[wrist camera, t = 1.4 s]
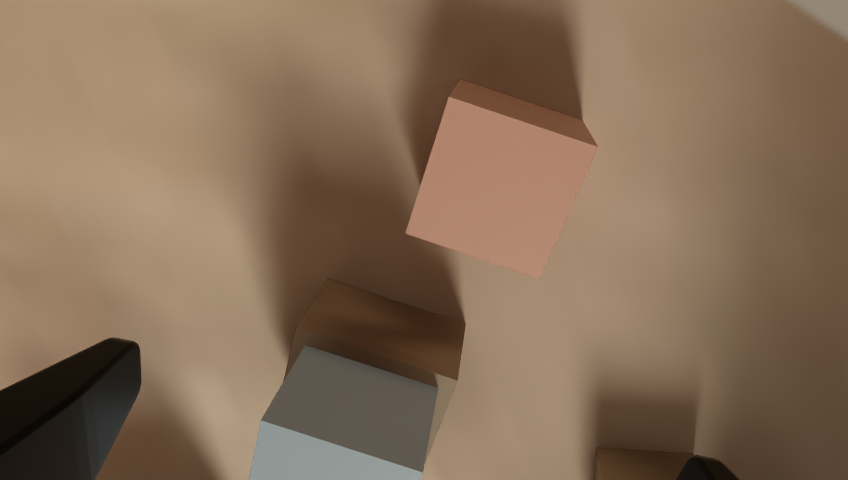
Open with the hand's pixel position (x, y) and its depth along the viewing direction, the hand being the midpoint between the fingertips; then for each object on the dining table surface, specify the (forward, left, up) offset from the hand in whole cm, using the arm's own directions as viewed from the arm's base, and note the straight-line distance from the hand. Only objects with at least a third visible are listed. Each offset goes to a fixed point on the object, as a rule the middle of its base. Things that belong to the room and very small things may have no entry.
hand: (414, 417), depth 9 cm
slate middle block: (+1, +9, -9) cm, 13 cm away
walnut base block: (+1, +9, -13) cm, 16 cm away
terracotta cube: (-1, -1, -13) cm, 13 cm away
